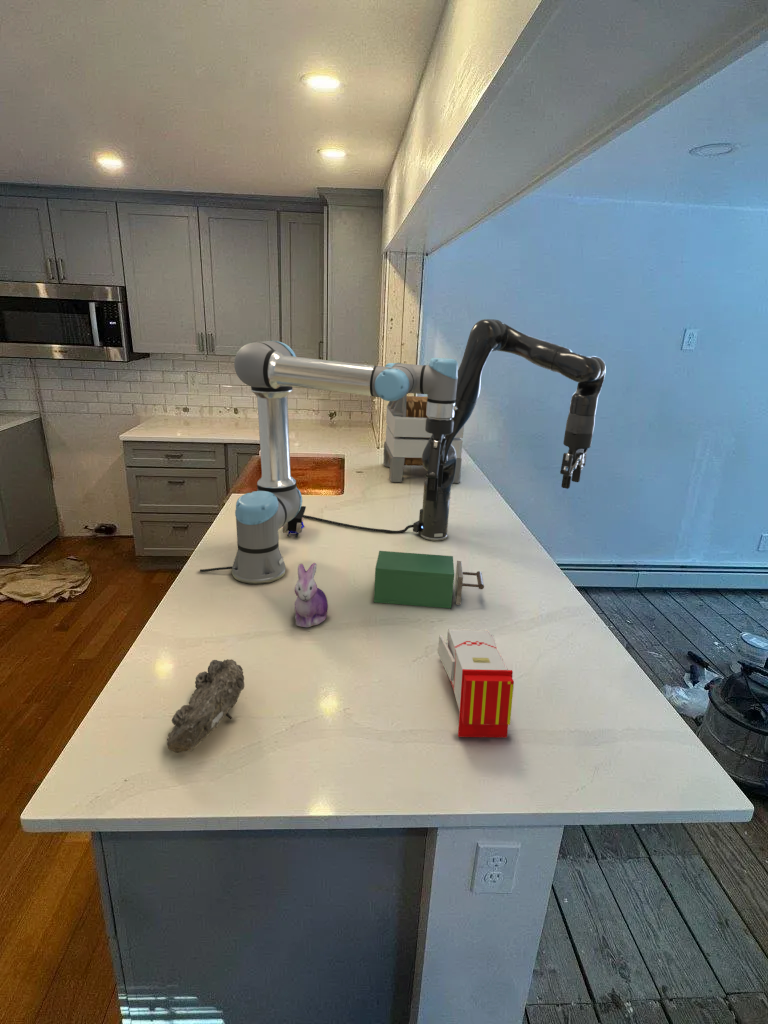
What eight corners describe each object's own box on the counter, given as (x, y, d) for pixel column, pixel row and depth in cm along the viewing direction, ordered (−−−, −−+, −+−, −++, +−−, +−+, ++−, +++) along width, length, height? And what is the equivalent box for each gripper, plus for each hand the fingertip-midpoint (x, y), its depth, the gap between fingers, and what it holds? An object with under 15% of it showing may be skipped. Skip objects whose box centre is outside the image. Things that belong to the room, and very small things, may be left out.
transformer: (382, 463, 289) (386, 382, 275) (445, 464, 293) (451, 384, 279) (390, 482, 257) (394, 392, 243) (460, 483, 261) (468, 394, 247)
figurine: (299, 632, 137) (299, 576, 132) (286, 613, 145) (285, 559, 140) (336, 624, 141) (336, 570, 136) (320, 605, 149) (321, 553, 144)
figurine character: (302, 543, 191) (306, 522, 205) (301, 523, 188) (306, 503, 202) (282, 542, 191) (288, 522, 205) (281, 522, 188) (287, 503, 201)
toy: (488, 613, 130) (523, 677, 101) (484, 667, 133) (517, 744, 104) (435, 612, 130) (455, 676, 101) (432, 666, 133) (451, 743, 103)
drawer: (479, 588, 161) (482, 562, 158) (482, 606, 151) (485, 579, 148) (390, 581, 163) (392, 555, 160) (388, 599, 153) (389, 571, 150)
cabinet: (449, 588, 162) (452, 556, 159) (451, 608, 151) (454, 574, 148) (377, 582, 164) (379, 550, 160) (373, 602, 153) (375, 568, 149)
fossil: (192, 660, 117) (244, 628, 112) (224, 691, 120) (276, 661, 115) (142, 746, 98) (202, 712, 93) (182, 779, 101) (242, 748, 96)
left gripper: (449, 427, 140) (443, 508, 147) (457, 411, 163) (451, 482, 170) (419, 425, 141) (414, 505, 148) (431, 409, 164) (426, 479, 171)
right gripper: (574, 424, 167) (566, 477, 173) (557, 431, 156) (548, 487, 162) (600, 428, 163) (590, 482, 168) (584, 435, 152) (574, 493, 158)
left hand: (434, 493), depth 159 cm, fingers open, 13 cm apart
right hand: (570, 484), depth 165 cm, fingers open, 8 cm apart
